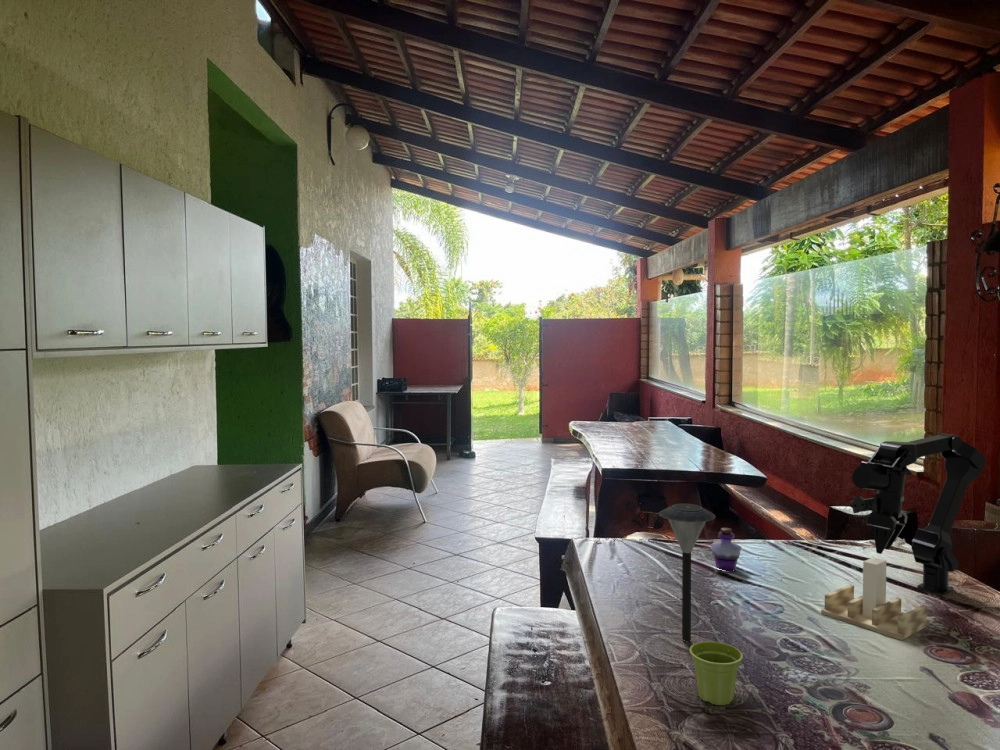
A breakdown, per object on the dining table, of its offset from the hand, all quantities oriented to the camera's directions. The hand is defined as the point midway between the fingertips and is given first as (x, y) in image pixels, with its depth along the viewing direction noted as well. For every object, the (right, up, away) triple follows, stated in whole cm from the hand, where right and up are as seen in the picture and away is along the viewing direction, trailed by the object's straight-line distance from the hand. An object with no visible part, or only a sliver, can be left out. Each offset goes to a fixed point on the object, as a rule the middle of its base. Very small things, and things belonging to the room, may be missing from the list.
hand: (882, 551), depth 172 cm
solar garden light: (-57, -14, -23) cm, 63 cm away
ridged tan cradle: (-9, -13, -13) cm, 20 cm away
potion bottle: (-32, -12, +24) cm, 42 cm away
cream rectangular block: (-9, -12, -13) cm, 20 cm away
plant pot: (-58, -15, -47) cm, 76 cm away
